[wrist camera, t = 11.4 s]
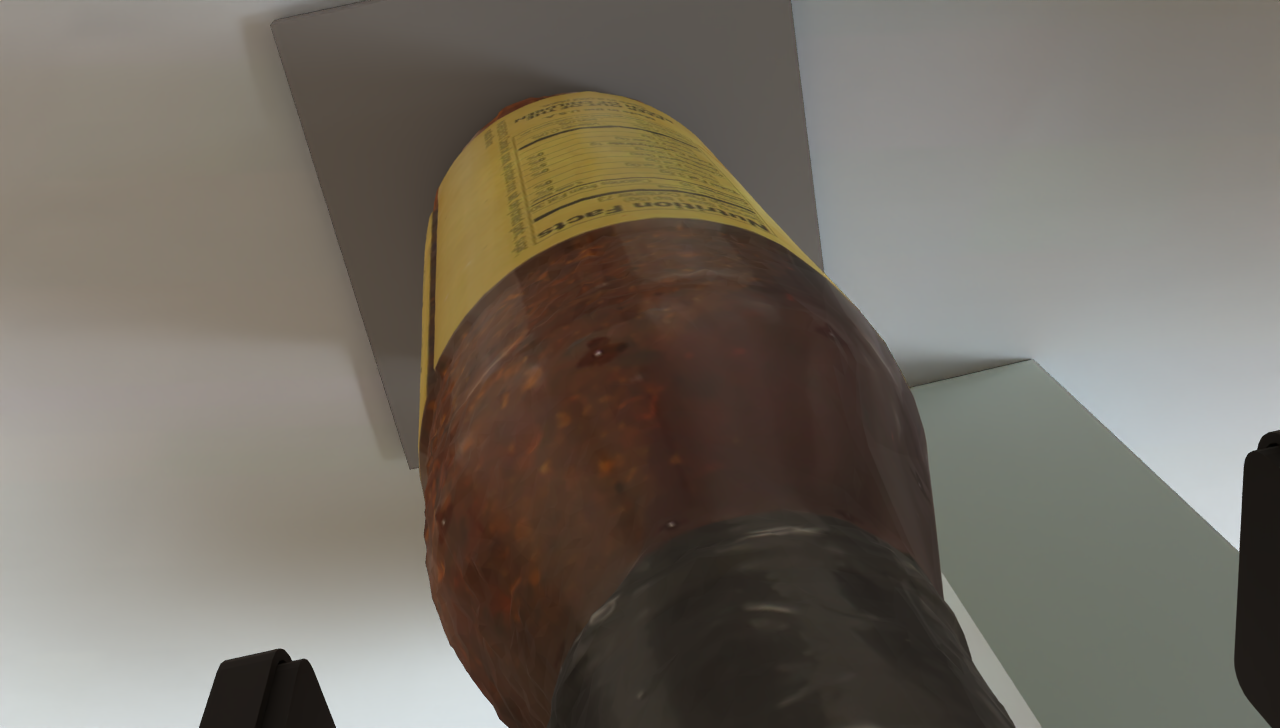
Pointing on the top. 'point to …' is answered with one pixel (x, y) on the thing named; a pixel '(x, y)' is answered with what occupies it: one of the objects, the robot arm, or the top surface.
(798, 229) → the plate
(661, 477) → the sauce bottle
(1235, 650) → the robot arm
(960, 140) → the top surface
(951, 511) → the canister
